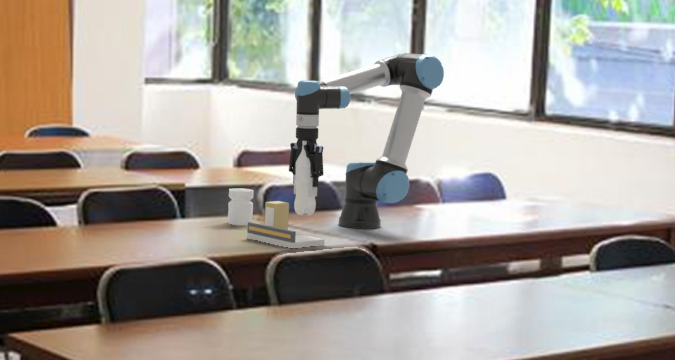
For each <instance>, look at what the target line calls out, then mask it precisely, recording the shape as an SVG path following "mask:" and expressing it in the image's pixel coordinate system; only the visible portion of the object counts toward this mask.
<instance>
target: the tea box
mask: <svg viewBox="0 0 675 360" xmlns="http://www.w3.org/2000/svg"><path fill="white" fill-rule="evenodd" d="M289 210H290V203H289V202H286V201H281V200H274V201H265V205H264V224H263V225H267V226H271V227H276V228H281V229H285V230H289V213H290V211H289Z"/></svg>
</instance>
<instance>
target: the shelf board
mask: <svg viewBox="0 0 675 360" xmlns="http://www.w3.org/2000/svg"><path fill="white" fill-rule="evenodd" d="M246 230H247V235H246V239H248V240H251V239H252V240H251V241H255V240H258V241H257V242H259V241H261V243H264V242H266V243H265V244H268V243H270V245H273V244H274V246H277V245H278V246H277V247H281V246H283V248H286V247H288V248H287V249H290V248H298V249H303V248H302V247H307V248H311V247H310V246H316V247H322V246H325V239H324V238H320V237H315V236H309V235H305V234H301V233H297V232H296V231H293V230H289V229H288V230H285V229H281V228H276V227H271V226H267V225H264V224H262V223H256V222H253V221H252V222H248V225H247V229H246Z"/></svg>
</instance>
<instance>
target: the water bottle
mask: <svg viewBox="0 0 675 360" xmlns="http://www.w3.org/2000/svg"><path fill="white" fill-rule="evenodd" d="M306 144H307V141H302V151H301V154H300V155H299V157H298V159H297V161H296V165H295V166H296V177H295V185H296V194H295V199H294V201H293V202H294V206H293V208H294V211H295V214H296V215H299V216H304V214H306V215H307V216H309V217H310V216H312V215H313V214H314V213H315V211H316V206H317V204H316V203H317V201H316V198H315V197H310V176H312V174H311V169H310V167H311V166H310V161H309V158H307V156H306V152H305V150H304V145H306ZM312 155H313V154H312Z"/></svg>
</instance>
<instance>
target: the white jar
mask: <svg viewBox="0 0 675 360" xmlns="http://www.w3.org/2000/svg"><path fill="white" fill-rule="evenodd" d="M254 191H255V190H254V189H250V188H241V187H240V188H236V187H235V188H229V189H228V198H230V201H229V202H228V206H227V207H228V212H227V224H228V223H229V224H228V225H231V224H232V226H240V227H241V226H244V225H245V226H246V227H247V226H248V222H253V215H254V214H253V212H254V203H253V202H252V201H251V200H252V199H254V194H255V193H254ZM245 226H244V227H245Z"/></svg>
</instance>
